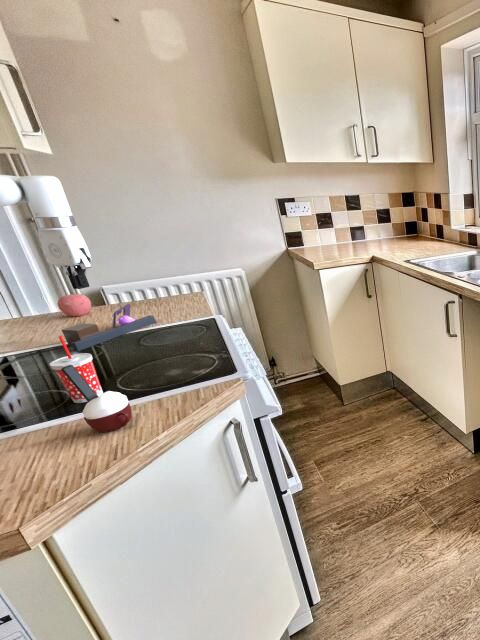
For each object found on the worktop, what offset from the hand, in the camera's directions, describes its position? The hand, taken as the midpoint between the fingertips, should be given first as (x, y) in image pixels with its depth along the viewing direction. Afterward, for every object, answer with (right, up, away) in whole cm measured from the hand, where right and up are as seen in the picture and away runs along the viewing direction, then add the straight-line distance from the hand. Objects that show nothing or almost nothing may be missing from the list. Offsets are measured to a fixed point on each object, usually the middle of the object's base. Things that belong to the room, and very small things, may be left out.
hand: (81, 287), depth 123 cm
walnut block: (+9, -16, -7) cm, 20 cm away
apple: (-16, -8, +15) cm, 24 cm away
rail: (+13, -14, -2) cm, 20 cm away
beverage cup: (+38, -28, -35) cm, 58 cm away
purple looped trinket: (+11, -12, +4) cm, 17 cm away
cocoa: (+52, -32, -45) cm, 76 cm away
